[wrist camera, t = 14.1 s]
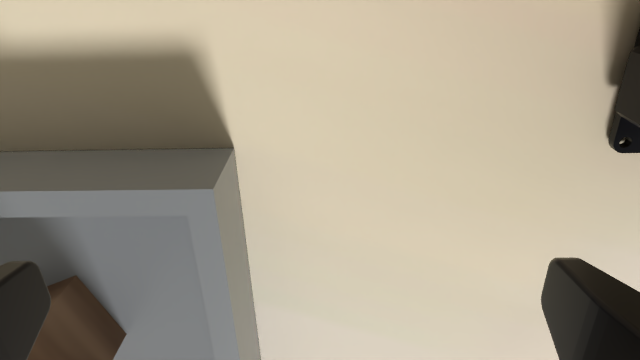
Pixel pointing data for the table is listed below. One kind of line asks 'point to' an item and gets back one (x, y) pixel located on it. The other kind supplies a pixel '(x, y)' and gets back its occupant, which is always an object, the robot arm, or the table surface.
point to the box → (140, 243)
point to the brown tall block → (76, 326)
